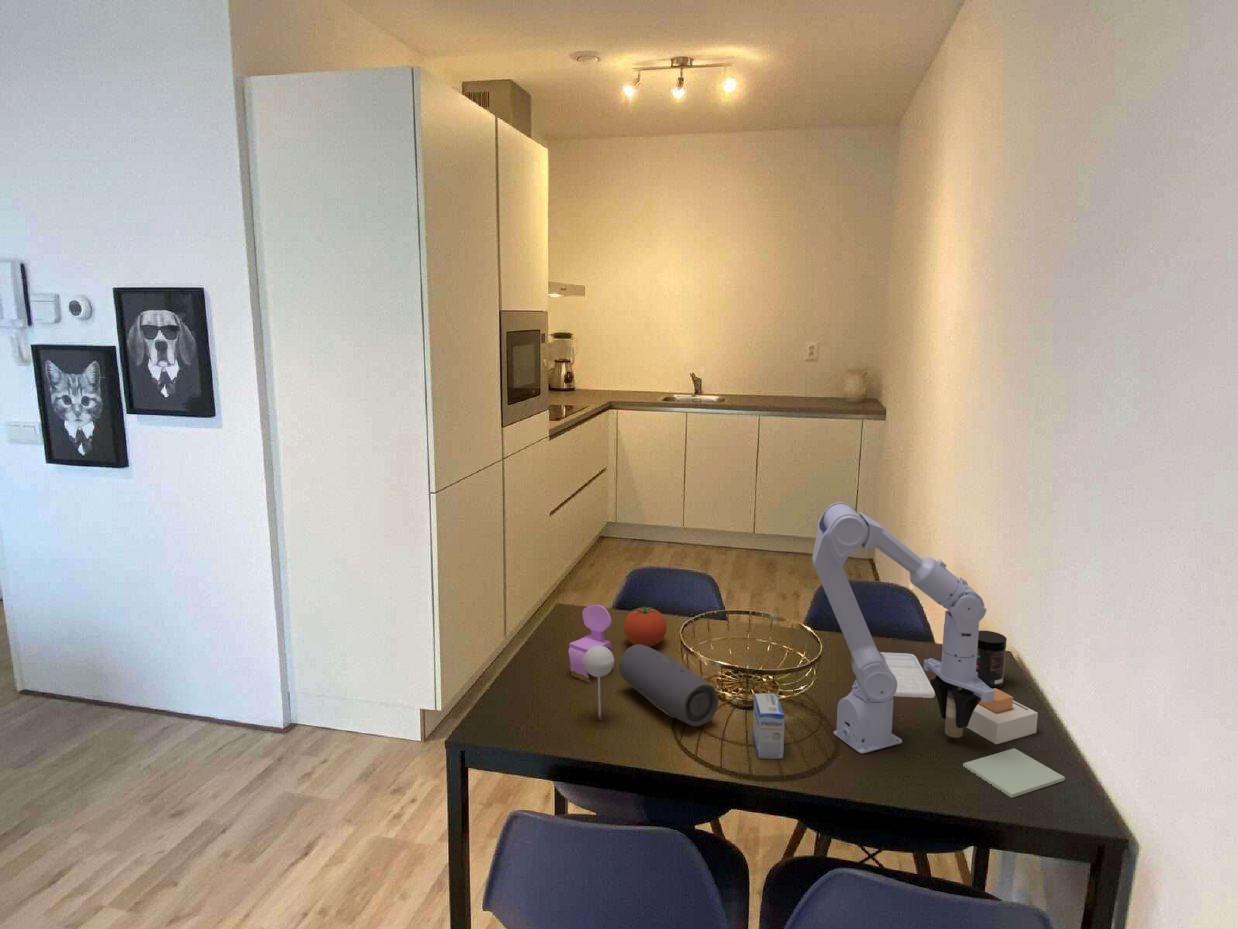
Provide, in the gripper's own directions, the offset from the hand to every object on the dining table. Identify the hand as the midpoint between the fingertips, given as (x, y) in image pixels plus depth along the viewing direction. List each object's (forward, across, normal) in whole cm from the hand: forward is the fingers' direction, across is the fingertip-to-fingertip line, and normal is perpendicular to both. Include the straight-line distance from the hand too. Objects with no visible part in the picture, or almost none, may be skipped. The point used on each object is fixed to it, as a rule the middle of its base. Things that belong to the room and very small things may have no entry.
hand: (954, 722), depth 144 cm
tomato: (+4, +63, +33) cm, 71 cm away
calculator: (+4, +26, -9) cm, 28 cm away
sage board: (+4, -12, -1) cm, 13 cm away
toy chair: (+4, +54, +50) cm, 74 cm away
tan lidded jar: (+2, 0, 0) cm, 2 cm away
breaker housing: (+4, +1, -11) cm, 12 cm away
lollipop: (+4, +34, +56) cm, 66 cm away
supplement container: (+4, +15, -24) cm, 29 cm away
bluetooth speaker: (+4, +33, +42) cm, 54 cm away
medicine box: (+4, +12, +32) cm, 34 cm away
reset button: (0, +1, -11) cm, 11 cm away
